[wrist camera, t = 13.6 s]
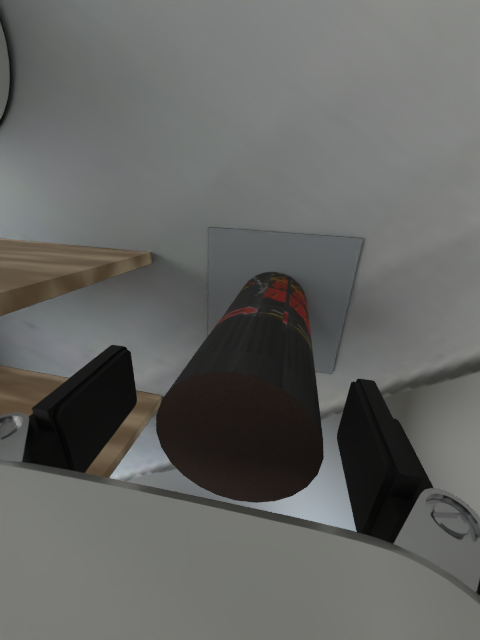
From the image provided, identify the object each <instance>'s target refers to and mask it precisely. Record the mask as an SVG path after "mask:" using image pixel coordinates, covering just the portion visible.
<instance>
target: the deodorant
mask: <svg viewBox="0 0 480 640" xmlns="http://www.w3.org/2000/svg"><path fill="white" fill-rule="evenodd" d="M156 431H157V435H158V438H159V441H160V444H161V447H162V449H163V450H164V452H165V454H166V455H167V457H168V458H169V460H170V462H171V463H172V464H173V465H174V466H175V467H176V468H177V469H178V470H179V471H180V472H181V473H182V474H183V475H184V476H185V477H187V478H188V479H190V480H191V481H192V482H194V483H195V484H197V485H198V486H200V487H202V488H204V489H206V490H208V491H210V492H212V493H214V494H216V495H219V496H223V497H227V498H230V499H233V500H238V501H247V502H268V501H276V500H280V499H283V498H286V497H290V496H293V495H294V494H296V493H298V492H299V491H301V490H302V489H304V488H306V487H307V486H308V485H309V484H310V483H311V481H312V480H313V479H314V478H315V477H316V476H317V474H318V472H319V469H320V466H321V463H322V461H323V437H322V428H321V419H320V410H319V402H318V393H317V384H316V376H315V367H314V358H313V350H312V341H311V332H310V324H309V315H308V306H307V298H306V296H305V293H304V290H303V289H302V287H301V286H300V284H299V283H298V282H297V281H295V280H294V279H293V278H292V277H290V276H288V275H286V274H283V273H279V272H264V273H262V274H259V275H256V276H254V277H253V278H252V279H250V280H249V281H248V282H247V283H246V284H245V286H244V287H243V288H242V290H241V291H240V292H239V294H238V295H237V297H236V298H235V299H234V301H233V302H232V303H231V305H230V306H229V308H228V309H227V310H226V312H225V313H224V315H223V316H222V317H221V319H220V320H219V322H218V323H217V324H216V326H215V327H214V328H213V330H212V331H211V333H210V334H209V335H208V337H207V338H206V340H205V341H204V342H203V344H202V345H201V346H200V348H199V349H198V351H197V352H196V353H195V355H194V356H193V358H192V359H191V360H190V362H189V363H188V365H187V366H186V367H185V369H184V370H183V371H182V373H181V374H180V376H179V377H178V378H177V380H176V381H175V383H174V384H173V385H172V387H171V388H170V390H169V391H168V392H167V394H166V395H165V396H164V398H163V399H162V401H161V404H160V407H159V409H158V412H157V415H156Z"/></svg>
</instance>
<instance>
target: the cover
mask: <svg viewBox="0 0 480 640" xmlns="http://www.w3.org/2000/svg"><path fill="white" fill-rule="evenodd" d="M151 263H152V260H151V252H142V251H132V250H121V249H110V248H99V247H88V246H77V245H66V244H55V243H44V242H33V241H22V240H11V239H0V316H2V315H5V314H7V313H10V312H13V311H16V310H19V309H22V308H25V307H28V306H30V305H33V304H36V303H39V302H42V301H45V300H48V299H51V298H54V297H56V296H59V295H62V294H65V293H68V292H71V291H74V290H77V289H79V288H82V287H85V286H88V285H91V284H94V283H97V282H100V281H103V280H105V279H108V278H111V277H114V276H117V275H120V274H123V273H126V272H128V271H131V270H134V269H137V268H140V267H143V266H146V265H149V264H151ZM68 379H69V378H65V377H60V376H54V375H49V374H44V373H38V372H33V371H27V370H22V369H17V368H11V367H6V366H0V416H1V415H4V414H8V413H13V412H21V413H24V414H26V415H27V416H28V417H29V416H30V415H31V414H33V411H32V407H34V406H35V405H36V404H37V403H39V402H40V401H41V400H42V399H44V398H45V397H46V396H48V395H49V394H50V393H51V392H53V391H54V390H55V389H56V388H58V387H59V386H60V385H61V384H63V383H64V382H65V381H67V380H68ZM136 395H137V403H136V405H135V407H134V409H133V410H132V411H131V413H130V414H129V415H128V417H127V418H126V419H125V420H124V422H123V423H122V424H121V426H120V427H119V428H118V430H117V431H116V432H115V434H114V435H113V436H112V438H111V439H110V440H109V442H108V443H107V444H106V445H105V447H104V448H103V449H102V451H101V452H100V453H99V455H98V456H97V457H96V459H95V460H94V461H93V463H92V464H91V465H90V467H89V468H88V469H87V470H86V472H85V473H86V474H91V475H96V476H101V477H106V478H109V477H110V476H111V474H112V473H113V471H114V470H115V469H116V467H117V466H118V464H119V463H120V462H121V460H122V459H123V457H124V456H125V454H126V453H127V452H128V450H129V449H130V447H131V446H132V445H133V443H134V442H135V440H136V439H137V438H138V436H139V435H140V433H141V432H142V430H143V429H144V428H145V426H146V425H147V423H148V422H149V421H150V419H151V418H152V416H153V415H154V414H155V412H156V411H157V409H158V408H159V407H160V404H161V401H162V395H157V394H151V393H146V392H141V391H136Z"/></svg>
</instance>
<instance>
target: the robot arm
mask: <svg viewBox="0 0 480 640" xmlns="http://www.w3.org/2000/svg"><path fill="white" fill-rule="evenodd" d="M9 85H10V69H9V57H8V51H7V45H6V40H5V36H4V33H3V29H2V26H1V22H0V119H1V117H2V115H3V113H4V110H5V107H6V103H7V100H8V94H9ZM136 403H137V395H136V388H135V381H134V374H133V366H132V359H131V353H130V351H128V350H127V348H126V347H124V346H116V345H111V346H110V347H108V348H107V349H106V350H105V351H103V352H102V353H101V354H99V355H98V356H97V357H96V358H94V359H93V360H92V361H91V362H89V363H88V364H87V365H86V366H84V367H83V368H82V369H80V370H79V371H78V372H77V373H75V374H74V375H73V376H72V377H70V378H69V379H68V380H67V381H65V382H64V383H63V384H61V385H60V386H59V387H58V388H56V389H55V390H54V391H53V392H51V393H50V394H49V395H48V396H46V397H45V398H44V399H42V400H41V401H40V402H39V403H37V404H36V405H35V406H34V407H32V411H33V414H31V415H30V416H29V417H28V416H27V415H26V414H24V413H21V412H13V413H8V414H4V415H1V416H0V640H480V517H479V516H478V514H477V513H476V512H475V511H474V510H473V509H472V508H471V507H470V506H469V505H468V504H466V503H465V502H464V501H462V500H461V499H460V498H458V497H457V496H455V495H453V494H451V493H450V492H447V491H444V490H441V489H436V488H433V486H432V484H431V482H430V480H429V478H428V476H427V474H426V472H425V471H424V468H423V467H422V465H421V463H420V461H419V459H418V457H417V455H416V453H415V451H414V449H413V447H412V445H411V443H410V441H409V439H408V438H407V436H406V434H405V432H404V430H403V428H402V426H401V424H400V423H399V421H398V420H396V419H393V417H392V415H391V413H390V411H389V409H388V407H387V405H386V403H385V401H384V399H383V397H382V395H381V393H380V391H379V389H378V387H377V385H376V383H375V382H374V381H372V380H365V379H357V381H356V382H352V383H351V385H350V389H349V393H348V396H347V400H346V403H345V407H344V411H343V414H342V418H341V422H340V425H339V429H338V433H337V440H338V446H339V450H340V455H341V460H342V465H343V470H344V474H345V479H346V483H347V488H348V493H349V498H350V502H351V507H352V512H353V517H354V522H355V526H356V530H357V532H354V531H351V530H346V529H342V528H338V527H333V526H330V525H325V524H321V523H317V522H313V521H308V520H304V519H300V518H295V517H291V516H286V515H282V514H277V513H272V512H268V511H262V510H258V509H254V508H249V507H244V506H240V505H235V504H230V503H226V502H221V501H216V500H212V499H207V498H202V497H197V496H193V495H188V494H183V493H178V492H173V491H169V490H164V489H159V488H154V487H150V486H145V485H140V484H135V483H130V482H125V481H120V480H116V479H111V478H106V477H101V476H96V475H91V474H86V473H85V472H86V470H87V469H88V468H89V467H90V465H91V464H92V463H93V461H94V460H95V459H96V457H97V456H98V455H99V453H100V452H101V451H102V449H103V448H104V447H105V445H106V444H107V443H108V442H109V440H110V439H111V438H112V436H113V435H114V434H115V432H116V431H117V430H118V428H119V427H120V426H121V424H122V423H123V422H124V420H125V419H126V418H127V417H128V415H129V414H130V413H131V411H132V410H133V409H134V407H135V405H136Z"/></svg>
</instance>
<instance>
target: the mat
mask: <svg viewBox="0 0 480 640" xmlns="http://www.w3.org/2000/svg"><path fill="white" fill-rule="evenodd" d="M362 242H363V238H353V237H339V236H325V235H312V234H298V233H284V232H270V231H256V230H242V229H228V228H214V227H208V326H207V337H208V335H209V334H210V333H211V331H212V330H213V328H214V327H215V326H216V324H217V323H218V322H219V320H220V319H221V317H222V316H223V315H224V313H225V312H226V310H227V309H228V308H229V306H230V305H231V303H232V302H233V301H234V299H235V298H236V297H237V295H238V294H239V292H240V291H241V290H242V288H243V287H244V286H245V284H246V283H247V282H248V281H249V280H250V279H252V278H253V277H254V276H256V275H259V274H262V273H264V272H279V273H283V274H286V275H288V276H290V277H292V278H293V279H294V280H295V281H297V282H298V283H299V284H300V286H301V287H302V289H303V290H304V293H305V296H306V298H307V306H308V315H309V324H310V332H311V341H312V350H313V358H314V367H315V372H321V373H328V374H332V373H333V368H334V364H335V360H336V355H337V351H338V346H339V342H340V338H341V333H342V329H343V325H344V320H345V316H346V312H347V307H348V303H349V298H350V294H351V290H352V285H353V281H354V277H355V272H356V268H357V264H358V259H359V255H360V250H361V246H362Z"/></svg>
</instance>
